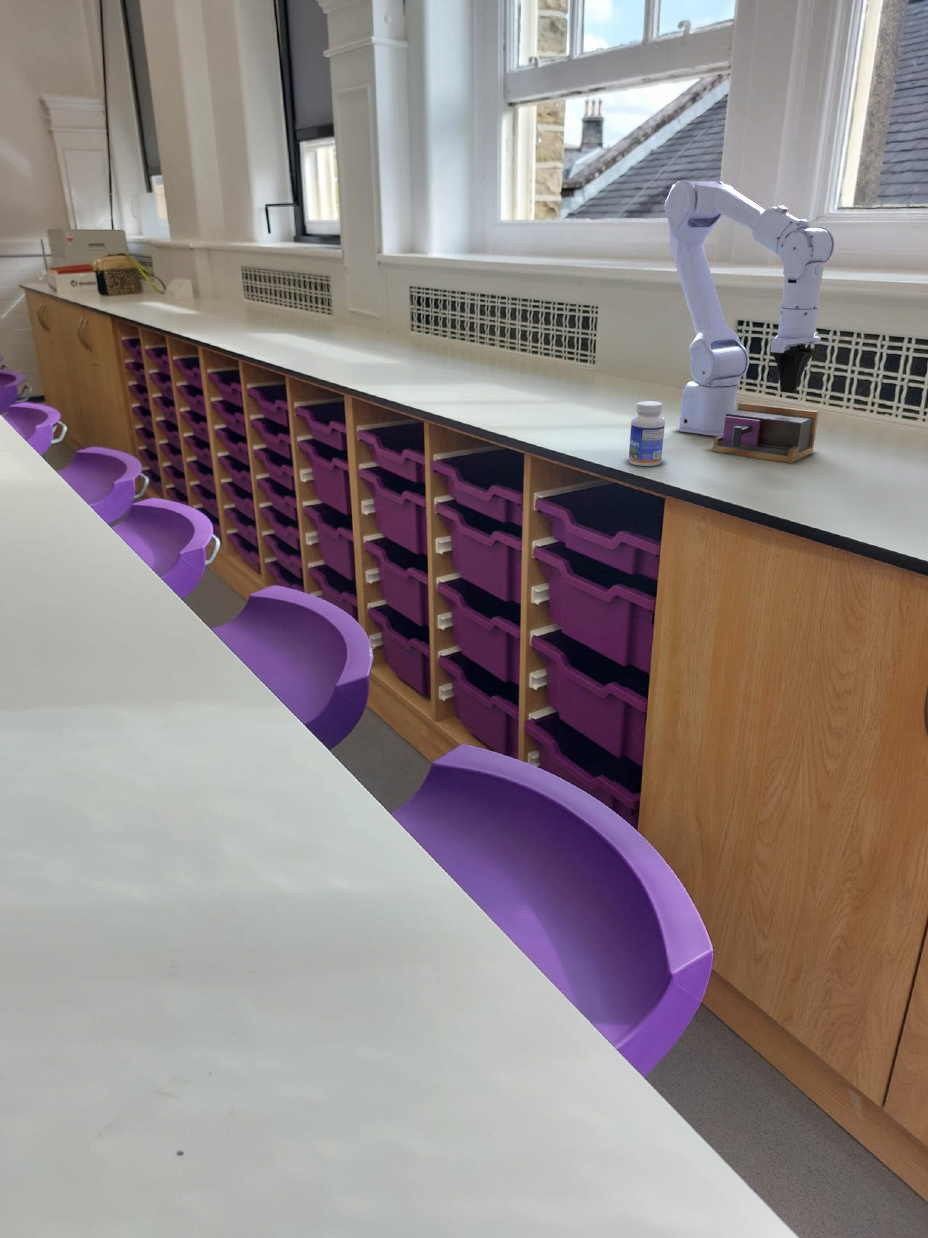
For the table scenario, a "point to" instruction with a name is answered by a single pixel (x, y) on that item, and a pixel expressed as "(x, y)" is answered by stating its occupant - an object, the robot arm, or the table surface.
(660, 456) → the pill bottle
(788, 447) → the sliding door box
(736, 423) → the sliding door
